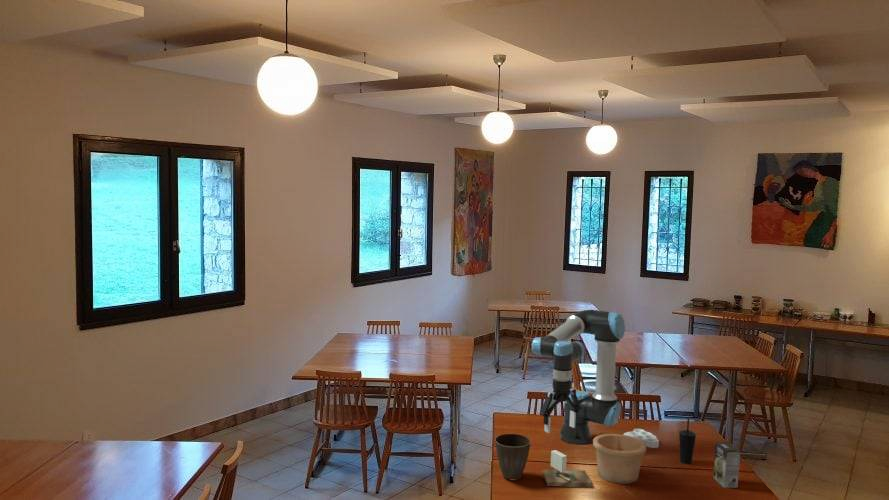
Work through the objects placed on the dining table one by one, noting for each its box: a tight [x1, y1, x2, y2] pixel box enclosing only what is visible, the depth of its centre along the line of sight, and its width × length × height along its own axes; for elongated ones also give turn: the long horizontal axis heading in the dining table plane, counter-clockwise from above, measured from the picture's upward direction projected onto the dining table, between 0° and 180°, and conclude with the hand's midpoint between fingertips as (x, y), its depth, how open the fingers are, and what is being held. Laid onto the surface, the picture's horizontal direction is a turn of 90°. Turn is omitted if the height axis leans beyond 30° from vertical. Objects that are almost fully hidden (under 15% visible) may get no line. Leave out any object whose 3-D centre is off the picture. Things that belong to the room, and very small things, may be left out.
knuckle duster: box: [622, 428, 660, 449], centre depth 318 cm, size 3×18×15 cm
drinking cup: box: [678, 418, 697, 465], centre depth 293 cm, size 8×8×20 cm
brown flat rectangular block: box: [542, 469, 592, 489], centre depth 271 cm, size 18×12×2 cm, turn 91°
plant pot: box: [494, 433, 532, 481], centre depth 273 cm, size 15×15×16 cm
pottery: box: [592, 433, 647, 485], centre depth 277 cm, size 22×22×14 cm
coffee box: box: [713, 441, 741, 489], centre depth 272 cm, size 9×6×16 cm
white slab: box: [550, 449, 570, 481], centre depth 269 cm, size 2×11×9 cm, turn 31°
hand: (559, 429), depth 269 cm, fingers open, 13 cm apart
